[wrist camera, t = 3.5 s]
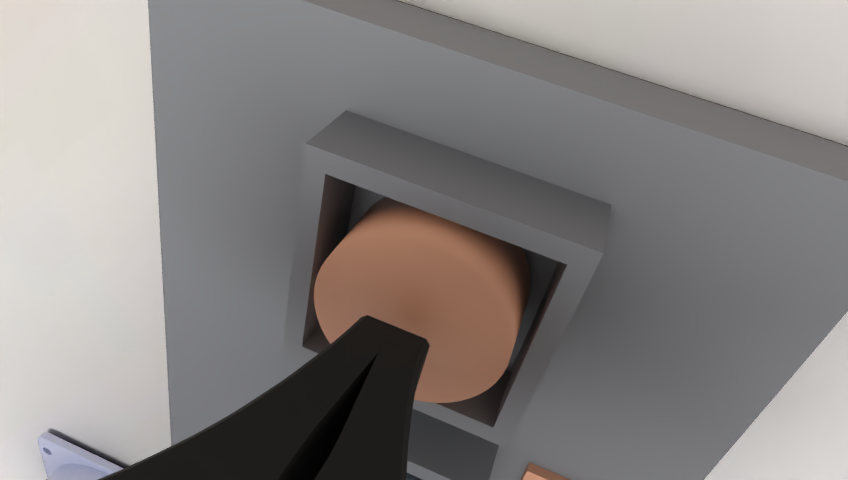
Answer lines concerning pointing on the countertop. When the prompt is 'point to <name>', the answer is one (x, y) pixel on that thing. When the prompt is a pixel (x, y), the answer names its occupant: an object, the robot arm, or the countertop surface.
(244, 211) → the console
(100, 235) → the countertop surface
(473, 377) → the button terracotta
